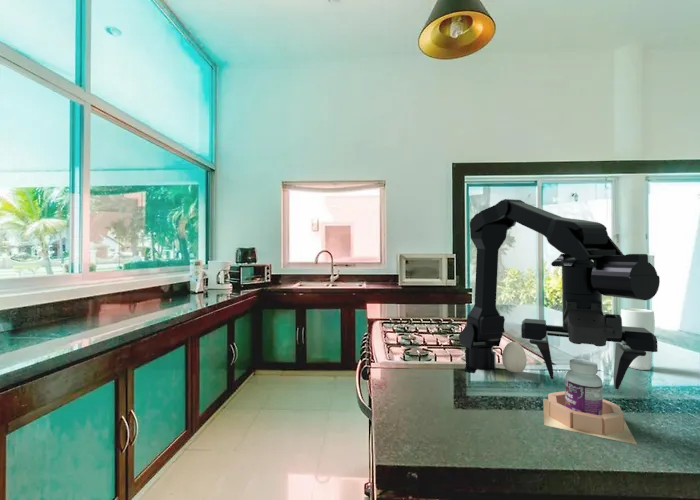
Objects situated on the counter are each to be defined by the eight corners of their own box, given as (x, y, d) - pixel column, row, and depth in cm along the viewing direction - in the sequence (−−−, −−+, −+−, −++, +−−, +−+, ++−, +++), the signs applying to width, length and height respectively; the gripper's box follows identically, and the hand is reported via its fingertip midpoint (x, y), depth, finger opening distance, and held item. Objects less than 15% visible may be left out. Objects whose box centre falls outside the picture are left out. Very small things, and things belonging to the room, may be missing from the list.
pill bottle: (558, 411, 61) (557, 357, 61) (585, 410, 61) (585, 356, 61) (581, 426, 55) (580, 367, 55) (611, 425, 56) (610, 366, 56)
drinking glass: (662, 372, 84) (661, 312, 84) (631, 370, 85) (630, 311, 85) (644, 364, 90) (643, 308, 91) (615, 362, 92) (614, 307, 92)
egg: (503, 376, 81) (502, 343, 82) (501, 369, 87) (500, 338, 87) (528, 379, 80) (528, 345, 80) (525, 371, 85) (524, 340, 85)
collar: (549, 424, 56) (549, 408, 56) (547, 400, 65) (547, 387, 65) (629, 440, 51) (628, 423, 51) (615, 412, 60) (615, 398, 60)
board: (544, 431, 56) (544, 424, 56) (543, 403, 66) (543, 398, 66) (637, 451, 50) (637, 444, 50) (620, 417, 60) (620, 412, 60)
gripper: (519, 294, 56) (520, 389, 56) (668, 302, 47) (671, 414, 47) (522, 289, 66) (523, 369, 65) (646, 294, 57) (647, 387, 56)
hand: (582, 383), depth 58 cm, fingers open, 9 cm apart
